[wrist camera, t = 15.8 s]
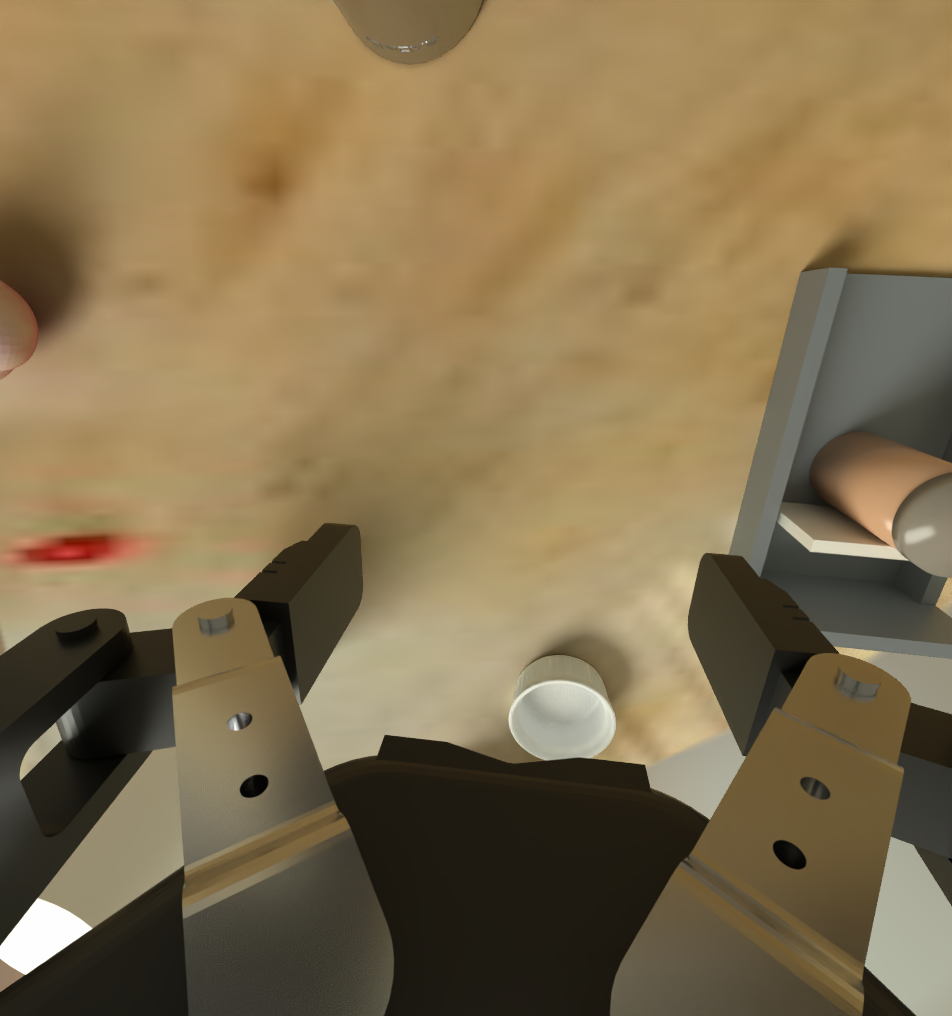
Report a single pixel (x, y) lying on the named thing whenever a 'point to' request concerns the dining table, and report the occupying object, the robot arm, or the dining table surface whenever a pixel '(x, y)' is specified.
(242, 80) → the dining table surface
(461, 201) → the dining table surface
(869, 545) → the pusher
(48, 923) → the cylindrical container
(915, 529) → the jar
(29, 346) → the decorative fruit
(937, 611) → the lane
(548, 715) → the ramekin
